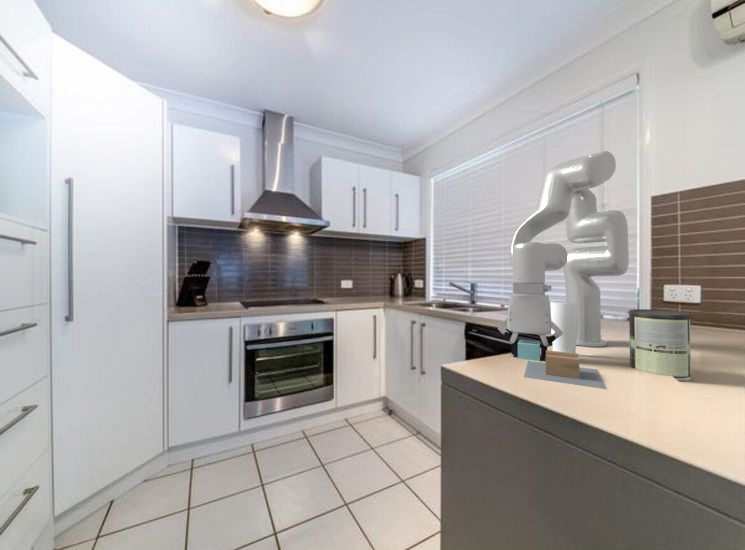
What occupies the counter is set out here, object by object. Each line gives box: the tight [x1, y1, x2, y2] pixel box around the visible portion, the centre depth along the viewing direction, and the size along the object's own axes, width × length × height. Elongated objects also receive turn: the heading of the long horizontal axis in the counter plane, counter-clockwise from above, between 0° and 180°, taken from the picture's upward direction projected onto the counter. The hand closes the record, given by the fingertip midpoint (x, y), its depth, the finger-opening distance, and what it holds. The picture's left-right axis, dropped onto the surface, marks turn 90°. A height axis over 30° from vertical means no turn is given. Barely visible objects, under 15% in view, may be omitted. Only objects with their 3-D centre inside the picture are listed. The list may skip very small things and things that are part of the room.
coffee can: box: [628, 308, 692, 382], centre depth 69 cm, size 10×10×14 cm
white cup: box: [550, 300, 578, 353], centre depth 84 cm, size 7×7×15 cm
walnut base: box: [545, 349, 580, 379], centre depth 67 cm, size 6×6×4 cm
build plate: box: [523, 360, 608, 390], centre depth 67 cm, size 14×14×1 cm
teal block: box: [517, 339, 541, 362], centre depth 80 cm, size 5×5×5 cm
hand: (529, 358), depth 80 cm, fingers open, 5 cm apart
